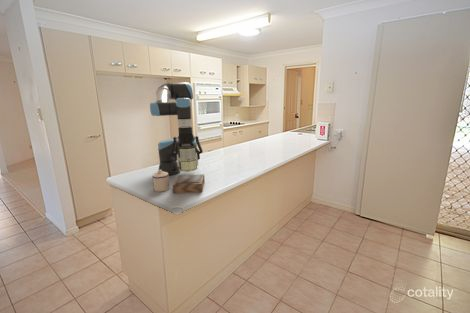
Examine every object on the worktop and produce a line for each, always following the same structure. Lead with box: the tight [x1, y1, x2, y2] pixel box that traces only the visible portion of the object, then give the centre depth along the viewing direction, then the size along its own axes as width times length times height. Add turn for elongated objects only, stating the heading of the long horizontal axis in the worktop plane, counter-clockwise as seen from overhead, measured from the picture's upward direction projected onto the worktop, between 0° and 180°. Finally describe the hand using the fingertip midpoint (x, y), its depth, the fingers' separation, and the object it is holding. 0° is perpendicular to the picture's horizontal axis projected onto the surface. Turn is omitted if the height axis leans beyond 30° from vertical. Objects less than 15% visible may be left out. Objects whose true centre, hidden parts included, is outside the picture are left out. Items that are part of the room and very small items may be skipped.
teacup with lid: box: [151, 170, 171, 193], centre depth 134 cm, size 12×9×12 cm
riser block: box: [172, 173, 205, 194], centre depth 135 cm, size 16×16×5 cm
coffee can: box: [177, 144, 198, 173], centre depth 131 cm, size 10×10×14 cm
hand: (188, 165), depth 132 cm, fingers closed on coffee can, 10 cm apart
